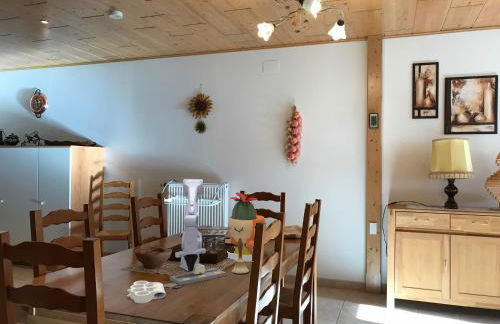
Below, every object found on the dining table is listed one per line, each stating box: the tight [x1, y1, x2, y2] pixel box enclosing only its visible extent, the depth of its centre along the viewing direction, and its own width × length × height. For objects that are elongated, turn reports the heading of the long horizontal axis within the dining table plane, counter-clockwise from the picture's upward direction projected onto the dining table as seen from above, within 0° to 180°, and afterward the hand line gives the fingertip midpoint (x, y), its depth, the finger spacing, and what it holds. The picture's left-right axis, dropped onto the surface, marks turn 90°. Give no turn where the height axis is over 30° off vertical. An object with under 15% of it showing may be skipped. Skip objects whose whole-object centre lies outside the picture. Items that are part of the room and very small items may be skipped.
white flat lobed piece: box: [126, 280, 166, 304], centre depth 164 cm, size 3×18×15 cm
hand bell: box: [231, 238, 250, 274], centre depth 198 cm, size 8×8×16 cm
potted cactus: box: [227, 192, 266, 263], centre depth 228 cm, size 22×22×35 cm
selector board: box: [169, 267, 227, 286], centre depth 187 cm, size 9×24×2 cm, turn 128°
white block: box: [190, 263, 206, 275], centre depth 187 cm, size 7×5×3 cm
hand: (190, 270), depth 186 cm, fingers closed
